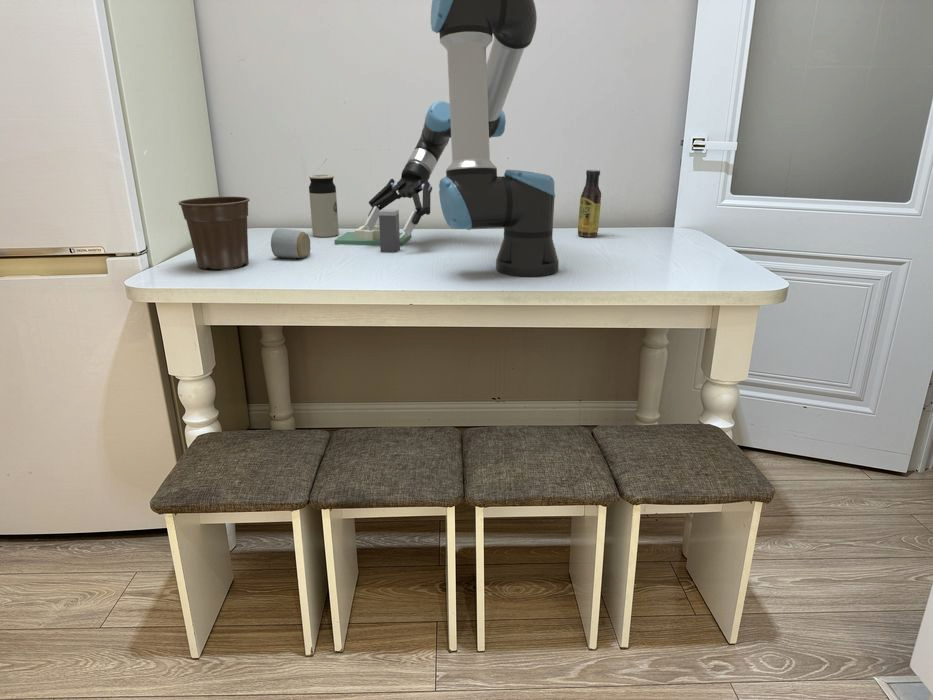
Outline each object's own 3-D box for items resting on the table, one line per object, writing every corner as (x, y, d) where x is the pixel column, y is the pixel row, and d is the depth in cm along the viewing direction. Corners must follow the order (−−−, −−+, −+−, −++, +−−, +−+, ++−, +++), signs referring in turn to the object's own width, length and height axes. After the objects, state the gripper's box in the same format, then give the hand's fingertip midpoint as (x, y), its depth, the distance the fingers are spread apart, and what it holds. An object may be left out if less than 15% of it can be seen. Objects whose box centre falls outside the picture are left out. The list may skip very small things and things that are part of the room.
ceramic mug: (300, 261, 166) (298, 231, 164) (271, 259, 168) (268, 230, 165) (318, 253, 176) (316, 225, 174) (290, 252, 178) (288, 224, 175)
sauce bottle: (573, 235, 201) (577, 169, 194) (590, 233, 204) (594, 168, 197) (585, 238, 196) (589, 171, 189) (602, 237, 198) (607, 170, 191)
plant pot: (179, 264, 163) (169, 199, 158) (241, 255, 173) (234, 194, 167) (201, 276, 152) (191, 206, 146) (267, 266, 161) (260, 200, 156)
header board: (402, 245, 185) (402, 232, 184) (334, 244, 187) (333, 231, 186) (411, 236, 198) (411, 224, 197) (347, 235, 200) (347, 223, 199)
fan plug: (396, 252, 177) (395, 211, 173) (380, 252, 177) (378, 211, 173) (400, 249, 181) (398, 209, 177) (384, 248, 181) (382, 209, 178)
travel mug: (308, 236, 199) (302, 176, 192) (320, 232, 206) (316, 174, 200) (331, 238, 196) (326, 177, 190) (343, 233, 204) (339, 174, 197)
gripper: (460, 180, 180) (429, 243, 173) (390, 175, 193) (359, 233, 186) (449, 162, 174) (416, 226, 167) (378, 158, 187) (345, 217, 180)
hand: (386, 230), depth 177 cm, fingers open, 13 cm apart
